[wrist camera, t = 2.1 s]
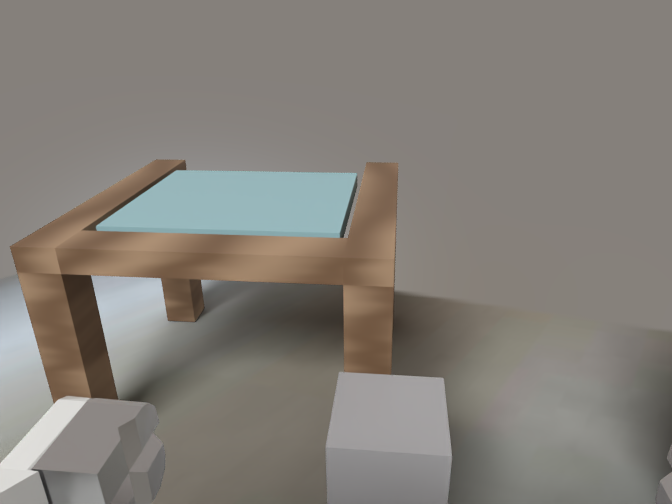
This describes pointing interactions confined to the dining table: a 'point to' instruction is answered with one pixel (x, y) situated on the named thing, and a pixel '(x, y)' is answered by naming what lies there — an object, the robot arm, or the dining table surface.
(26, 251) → the trapdoor frame
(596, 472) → the dining table surface
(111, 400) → the robot arm
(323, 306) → the dining table surface
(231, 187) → the trapdoor
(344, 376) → the light grey block
